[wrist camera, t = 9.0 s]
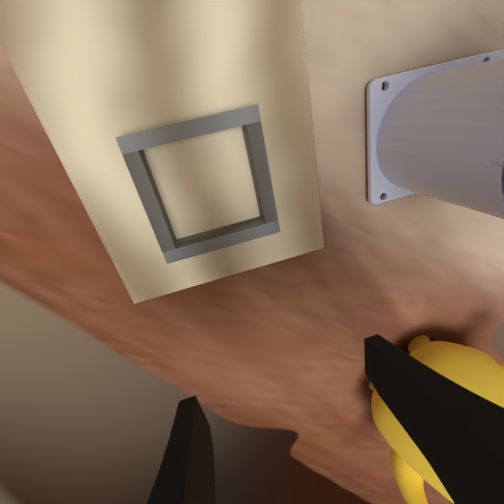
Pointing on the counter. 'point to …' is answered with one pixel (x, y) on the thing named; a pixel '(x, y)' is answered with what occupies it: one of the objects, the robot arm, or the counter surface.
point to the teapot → (459, 371)
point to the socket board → (176, 129)
